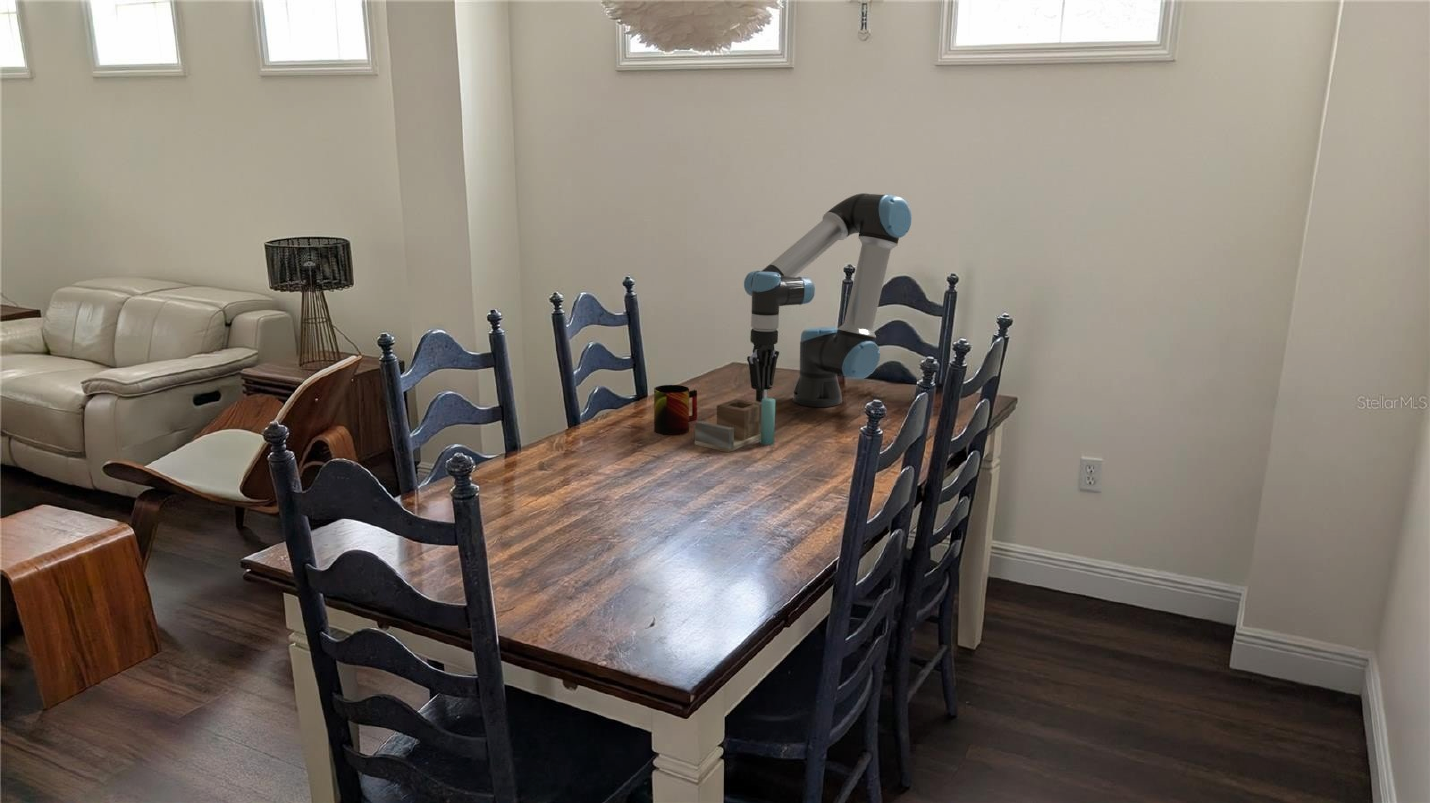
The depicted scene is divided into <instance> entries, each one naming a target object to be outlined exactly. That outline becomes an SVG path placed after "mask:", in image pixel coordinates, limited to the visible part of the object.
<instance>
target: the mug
mask: <svg viewBox="0 0 1430 803" xmlns="http://www.w3.org/2000/svg"><path fill="white" fill-rule="evenodd" d="M653 392H654V393H653V396H654V397H653V415H654V418H653V420H654V421H653V430H654V431H653V432H654V433H655V434H658V435H661V436H665V437H676V436H684V435H686V434H688V433H689V432H690V423H692V422H698V421H697V420H698V390H696V389H693V390H690V388H689V387H688V386H685V385H680V384H679V385H678V384H663V385H658V386H655V387H654V388H653ZM690 398H691V415H690Z"/></svg>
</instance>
